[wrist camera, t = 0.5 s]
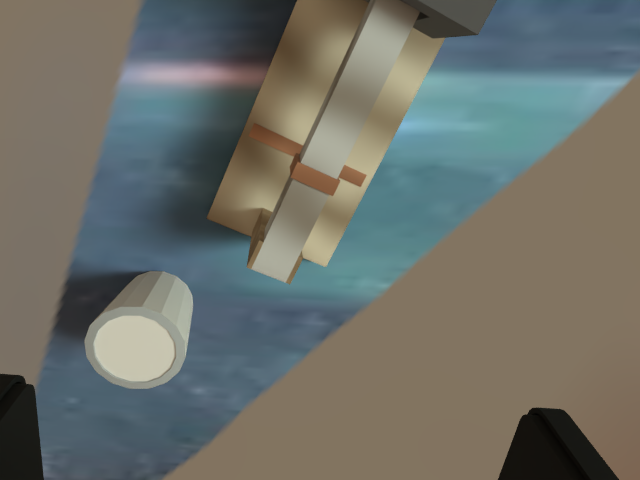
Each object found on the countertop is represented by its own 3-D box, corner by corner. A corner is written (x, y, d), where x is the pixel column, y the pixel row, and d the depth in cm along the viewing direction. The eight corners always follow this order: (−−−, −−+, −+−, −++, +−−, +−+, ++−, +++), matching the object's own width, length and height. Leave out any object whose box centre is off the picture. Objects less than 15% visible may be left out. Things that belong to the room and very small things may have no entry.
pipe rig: (361, -155, 29) (390, -229, 22) (494, -70, 32) (564, -110, 24) (209, 212, 37) (190, 254, 29) (324, 259, 39) (335, 310, 32)
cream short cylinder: (100, 311, 40) (65, 361, 33) (142, 248, 38) (114, 289, 31) (173, 349, 41) (154, 405, 35) (216, 291, 40) (204, 338, 33)
